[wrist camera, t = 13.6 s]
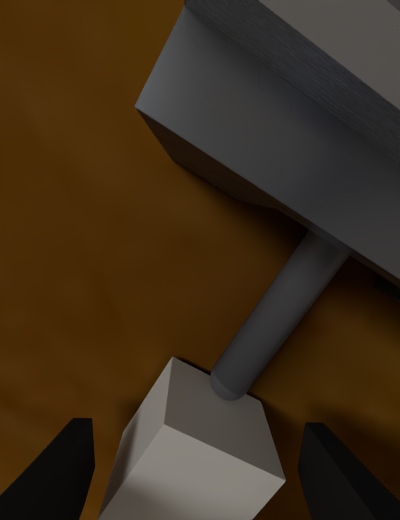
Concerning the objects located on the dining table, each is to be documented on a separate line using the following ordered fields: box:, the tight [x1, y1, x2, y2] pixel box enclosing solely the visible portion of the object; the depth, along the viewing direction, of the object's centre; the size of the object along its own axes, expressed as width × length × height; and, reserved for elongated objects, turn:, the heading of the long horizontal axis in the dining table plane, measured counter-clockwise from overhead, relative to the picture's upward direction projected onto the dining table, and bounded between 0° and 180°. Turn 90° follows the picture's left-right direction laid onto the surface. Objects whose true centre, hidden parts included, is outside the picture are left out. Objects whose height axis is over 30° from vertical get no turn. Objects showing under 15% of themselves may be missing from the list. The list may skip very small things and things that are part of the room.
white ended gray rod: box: [98, 230, 349, 520], centre depth 7 cm, size 8×24×3 cm, turn 149°
